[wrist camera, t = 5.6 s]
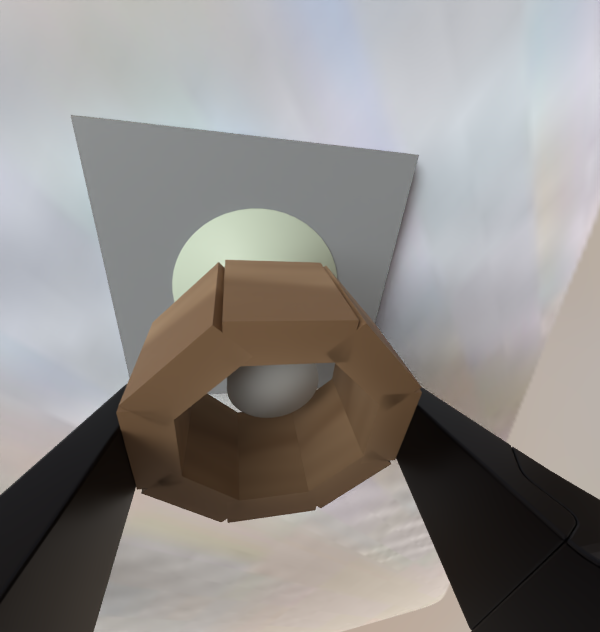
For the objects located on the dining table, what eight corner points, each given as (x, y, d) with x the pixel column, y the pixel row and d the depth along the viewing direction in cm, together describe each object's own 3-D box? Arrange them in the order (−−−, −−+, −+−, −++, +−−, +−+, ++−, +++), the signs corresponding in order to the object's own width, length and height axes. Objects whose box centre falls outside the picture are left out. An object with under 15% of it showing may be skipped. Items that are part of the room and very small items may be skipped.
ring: (347, 423, 12) (378, 501, 10) (168, 438, 11) (149, 534, 8) (388, 264, 9) (451, 319, 6) (139, 257, 7) (91, 322, 5)
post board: (353, 374, 19) (407, 485, 13) (139, 384, 16) (86, 527, 11) (406, 153, 13) (552, 174, 7) (83, 116, 10) (-110, 100, 5)
